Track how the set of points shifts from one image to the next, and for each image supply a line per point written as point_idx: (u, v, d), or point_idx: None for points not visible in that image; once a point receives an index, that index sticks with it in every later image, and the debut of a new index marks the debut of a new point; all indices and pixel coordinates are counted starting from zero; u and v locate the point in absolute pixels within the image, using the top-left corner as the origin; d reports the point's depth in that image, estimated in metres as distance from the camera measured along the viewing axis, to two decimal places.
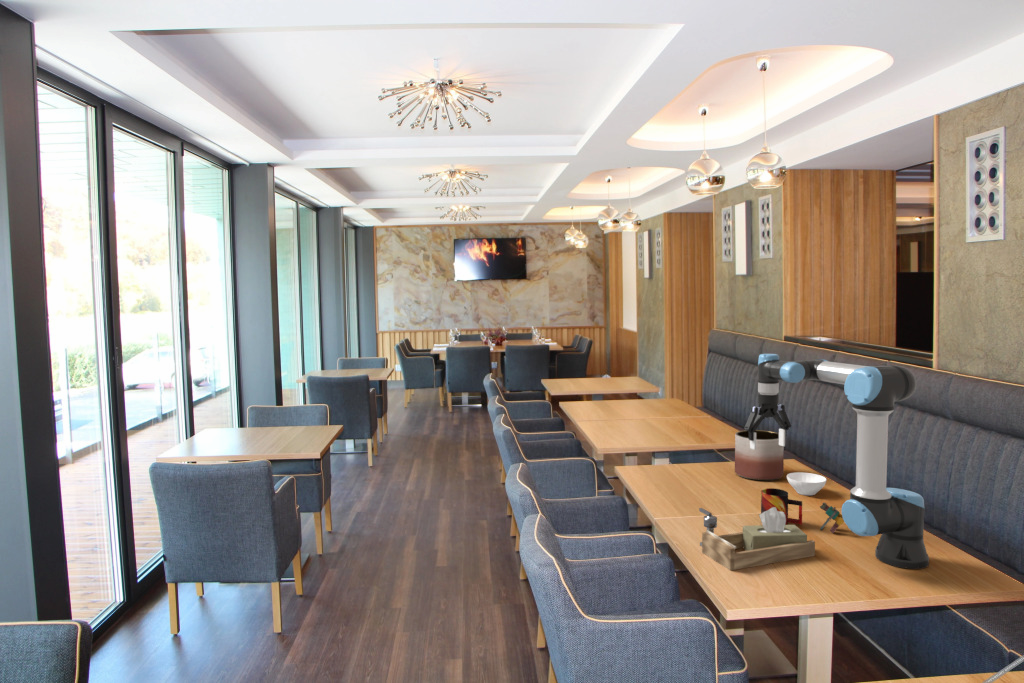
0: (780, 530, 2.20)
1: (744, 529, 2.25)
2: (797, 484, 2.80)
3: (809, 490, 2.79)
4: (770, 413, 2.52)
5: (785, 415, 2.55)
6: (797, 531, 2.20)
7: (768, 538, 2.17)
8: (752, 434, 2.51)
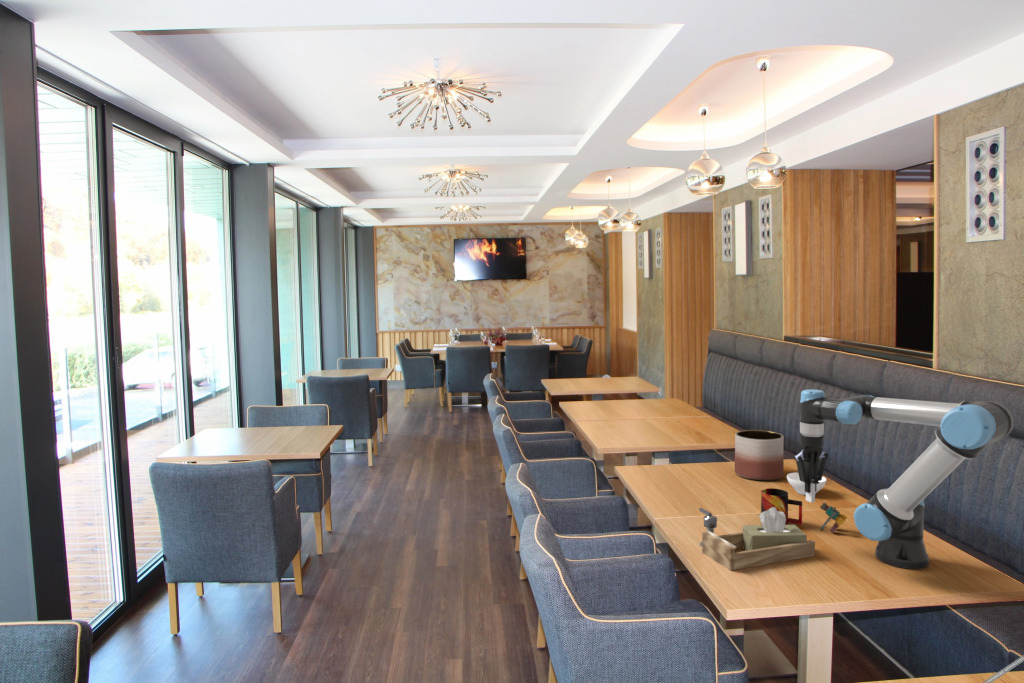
0: (780, 530, 2.21)
1: (744, 529, 2.25)
2: (797, 484, 2.80)
3: None
4: (814, 457, 2.24)
5: (823, 465, 2.25)
6: (797, 531, 2.20)
7: (767, 538, 2.17)
8: (809, 485, 2.25)
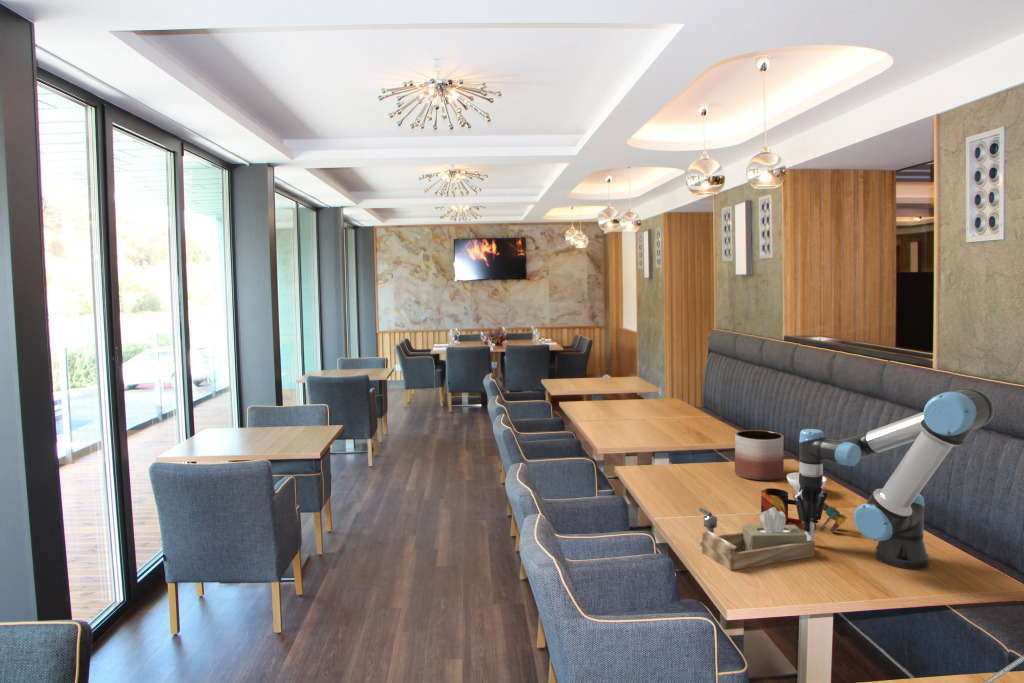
0: (780, 530, 2.21)
1: (744, 529, 2.25)
2: (797, 484, 2.80)
3: None
4: (813, 496, 2.25)
5: (822, 504, 2.26)
6: (797, 531, 2.20)
7: (767, 538, 2.17)
8: (808, 525, 2.26)
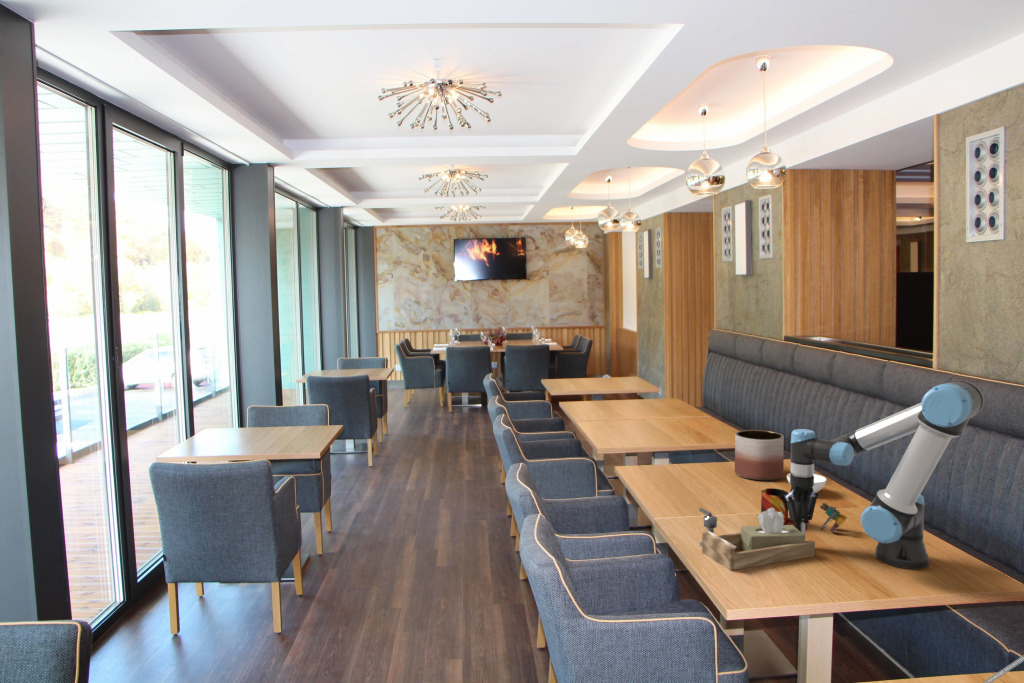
0: (778, 530, 2.20)
1: (742, 529, 2.24)
2: None
3: None
4: (804, 496, 2.24)
5: (813, 505, 2.25)
6: (795, 532, 2.20)
7: (766, 538, 2.17)
8: (799, 525, 2.25)
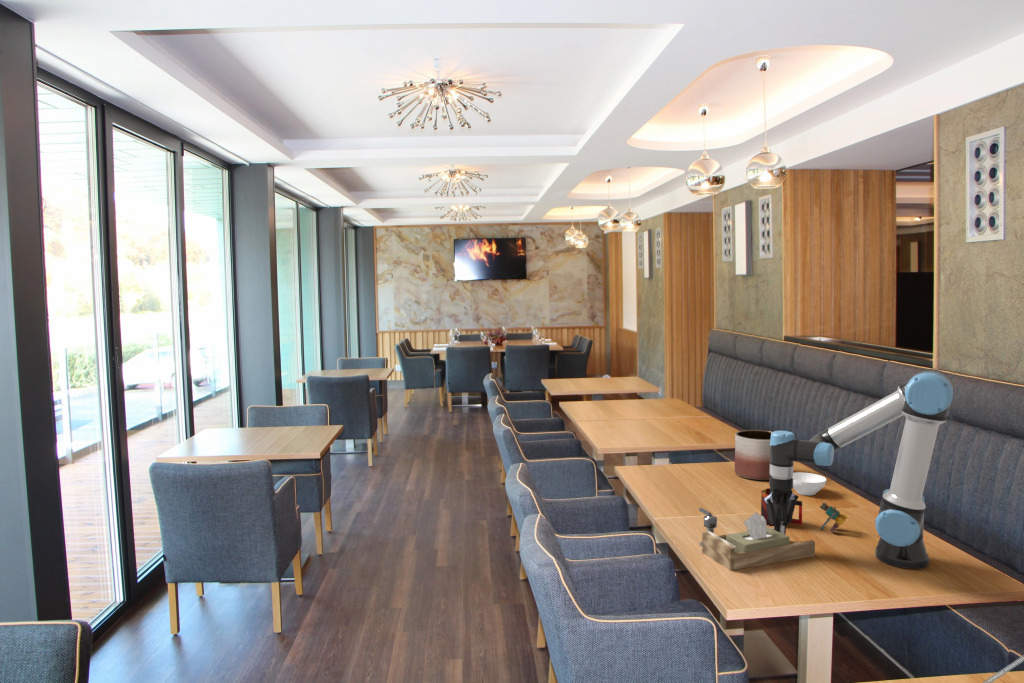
0: (764, 535, 2.16)
1: (729, 538, 2.17)
2: (797, 484, 2.80)
3: (809, 490, 2.79)
4: (783, 499, 2.21)
5: (793, 507, 2.23)
6: (778, 534, 2.18)
7: (758, 545, 2.11)
8: (778, 528, 2.22)
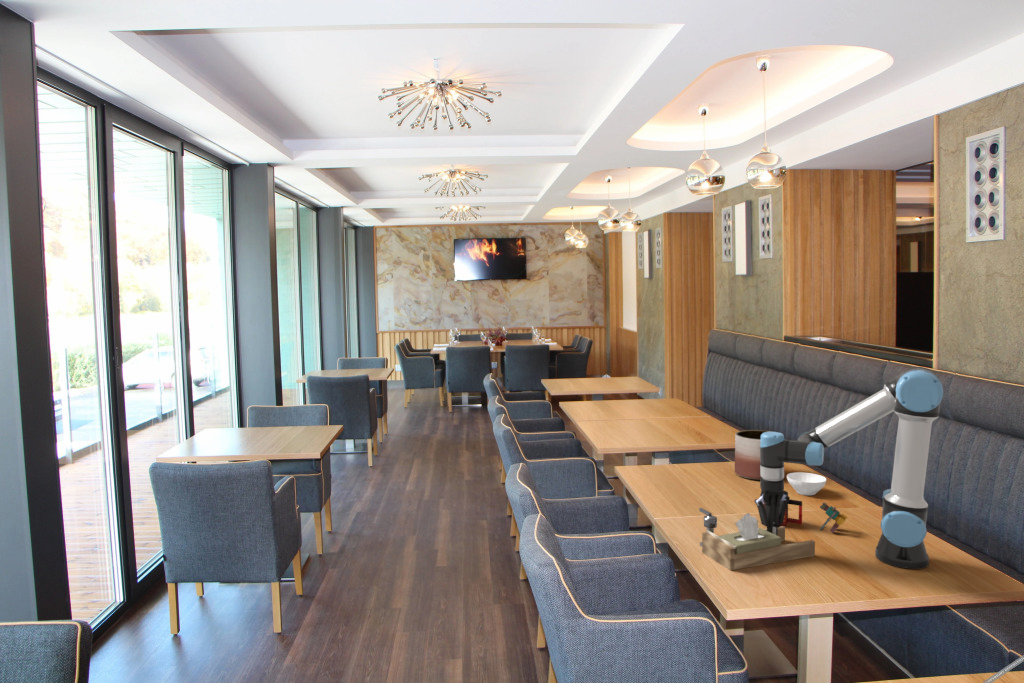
0: (755, 536, 2.16)
1: None
2: (797, 484, 2.80)
3: (809, 490, 2.79)
4: (775, 500, 2.20)
5: (784, 508, 2.22)
6: (770, 535, 2.17)
7: (750, 546, 2.10)
8: (771, 529, 2.21)
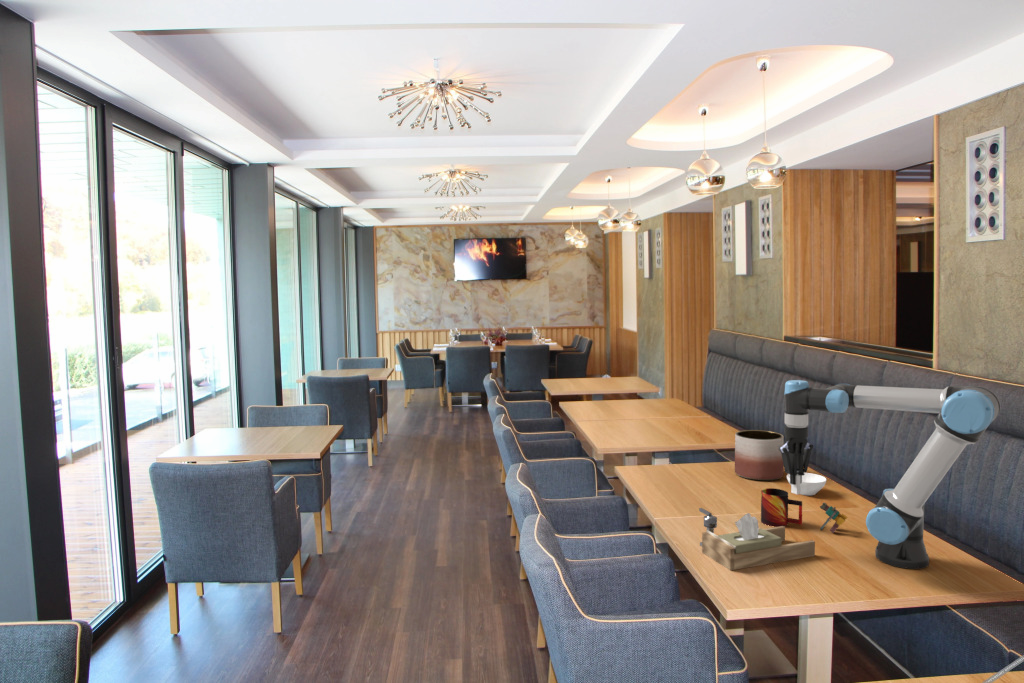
0: (755, 536, 2.16)
1: None
2: None
3: (809, 490, 2.79)
4: (799, 448, 2.22)
5: (808, 456, 2.23)
6: (770, 535, 2.17)
7: (749, 546, 2.10)
8: (794, 477, 2.22)
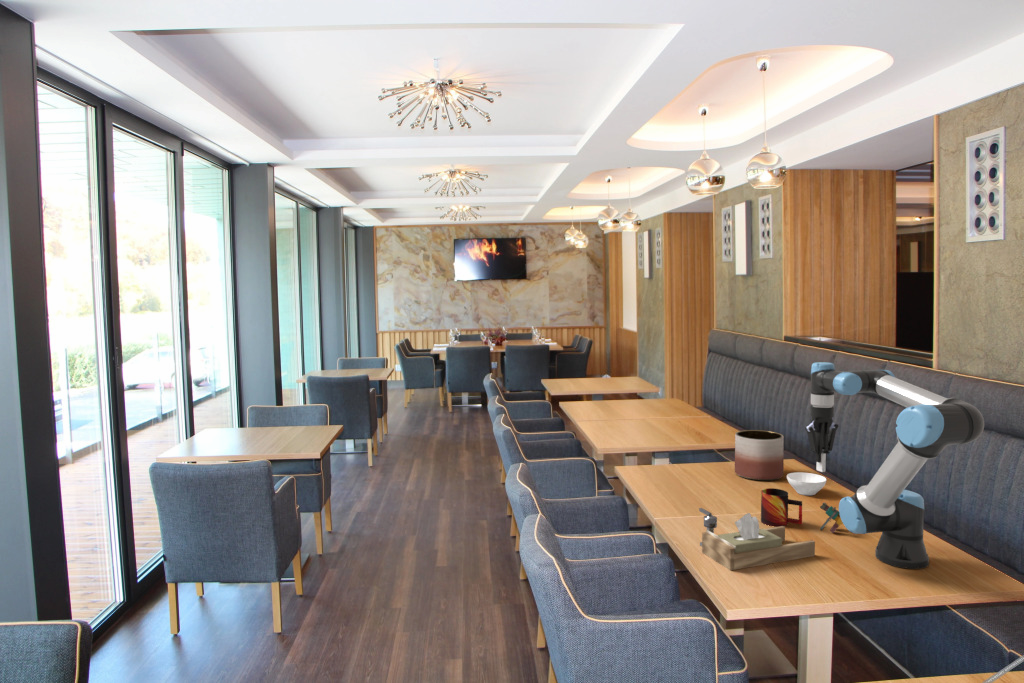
0: (756, 536, 2.15)
1: None
2: (797, 484, 2.80)
3: (809, 490, 2.79)
4: (824, 427, 2.31)
5: (833, 435, 2.32)
6: (771, 536, 2.16)
7: (748, 546, 2.11)
8: (819, 455, 2.31)
